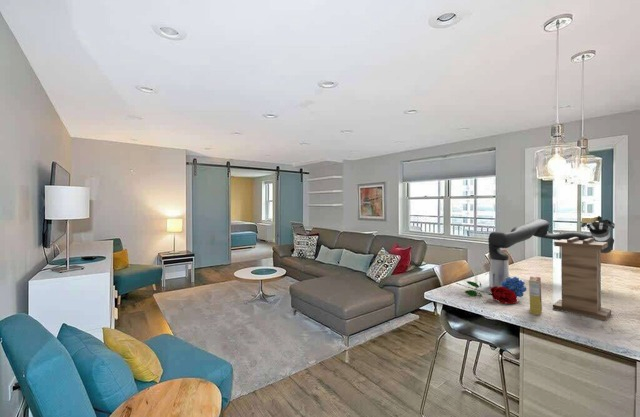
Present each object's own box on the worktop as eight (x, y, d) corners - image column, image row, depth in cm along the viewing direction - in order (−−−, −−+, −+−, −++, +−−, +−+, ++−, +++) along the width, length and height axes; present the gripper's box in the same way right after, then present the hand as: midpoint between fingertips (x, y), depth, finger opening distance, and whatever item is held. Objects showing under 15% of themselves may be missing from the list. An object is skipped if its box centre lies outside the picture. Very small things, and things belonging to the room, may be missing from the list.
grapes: (529, 300, 147) (529, 277, 147) (524, 303, 143) (524, 279, 143) (504, 294, 156) (503, 273, 156) (499, 297, 152) (498, 274, 152)
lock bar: (590, 222, 136) (590, 217, 136) (581, 222, 138) (581, 217, 138) (599, 220, 151) (599, 216, 151) (592, 220, 153) (592, 215, 153)
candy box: (530, 307, 136) (530, 275, 136) (541, 309, 134) (541, 277, 134) (529, 313, 130) (528, 279, 130) (540, 315, 127) (540, 281, 127)
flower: (454, 272, 161) (517, 287, 139) (460, 277, 167) (521, 293, 145) (450, 288, 159) (513, 305, 137) (456, 292, 165) (517, 310, 143)
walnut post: (605, 321, 119) (605, 241, 119) (552, 309, 134) (551, 238, 134) (611, 313, 128) (610, 239, 128) (560, 302, 142) (559, 236, 142)
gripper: (583, 225, 165) (577, 211, 156) (618, 226, 154) (613, 211, 145) (582, 236, 163) (575, 223, 154) (617, 239, 152) (612, 224, 142)
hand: (594, 217), depth 149 cm, fingers closed on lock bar, 3 cm apart
